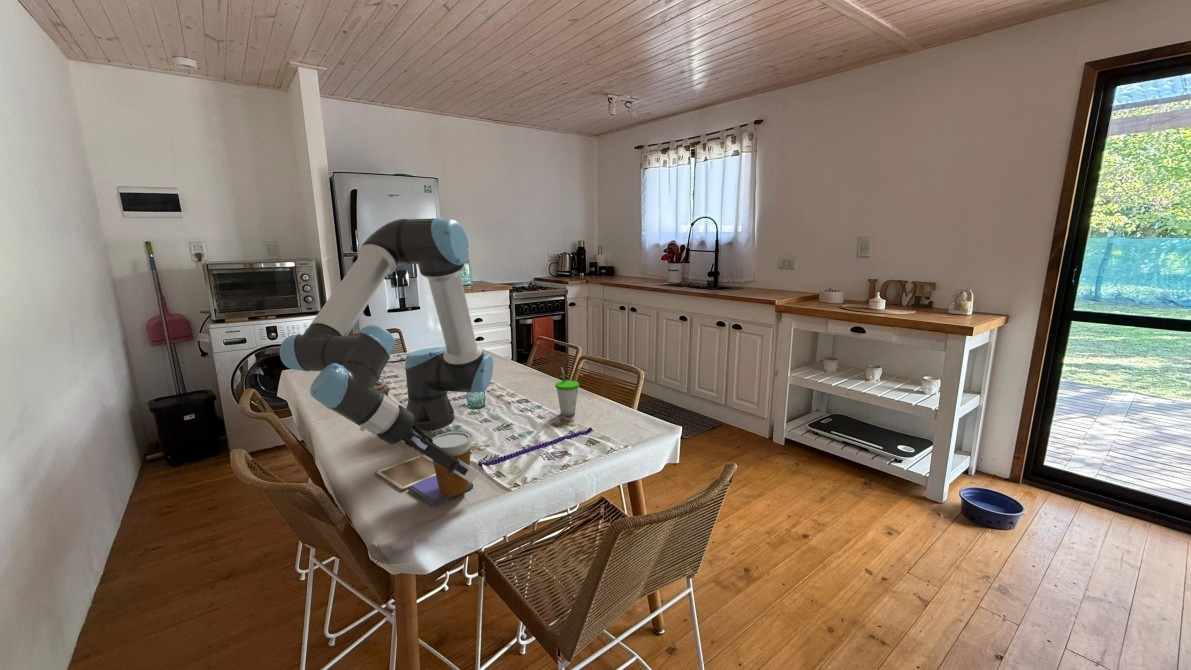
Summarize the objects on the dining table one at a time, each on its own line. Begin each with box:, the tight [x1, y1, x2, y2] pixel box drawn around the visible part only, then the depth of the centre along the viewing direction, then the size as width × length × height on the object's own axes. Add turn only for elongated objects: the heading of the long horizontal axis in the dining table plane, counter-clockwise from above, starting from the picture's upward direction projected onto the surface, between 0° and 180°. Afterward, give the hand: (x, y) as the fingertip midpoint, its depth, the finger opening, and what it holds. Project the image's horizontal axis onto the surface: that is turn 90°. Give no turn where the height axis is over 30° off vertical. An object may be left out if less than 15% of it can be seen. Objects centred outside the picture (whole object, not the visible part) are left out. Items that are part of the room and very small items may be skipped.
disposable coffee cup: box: [433, 431, 474, 496], centre depth 110 cm, size 10×10×12 cm
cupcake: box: [374, 375, 390, 397], centre depth 170 cm, size 10×10×10 cm
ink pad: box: [408, 476, 474, 507], centre depth 113 cm, size 10×10×1 cm
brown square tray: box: [374, 453, 436, 493], centre depth 121 cm, size 13×13×1 cm
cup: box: [554, 366, 580, 417], centre depth 159 cm, size 8×8×15 cm
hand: (466, 469), depth 112 cm, fingers closed on disposable coffee cup, 9 cm apart
